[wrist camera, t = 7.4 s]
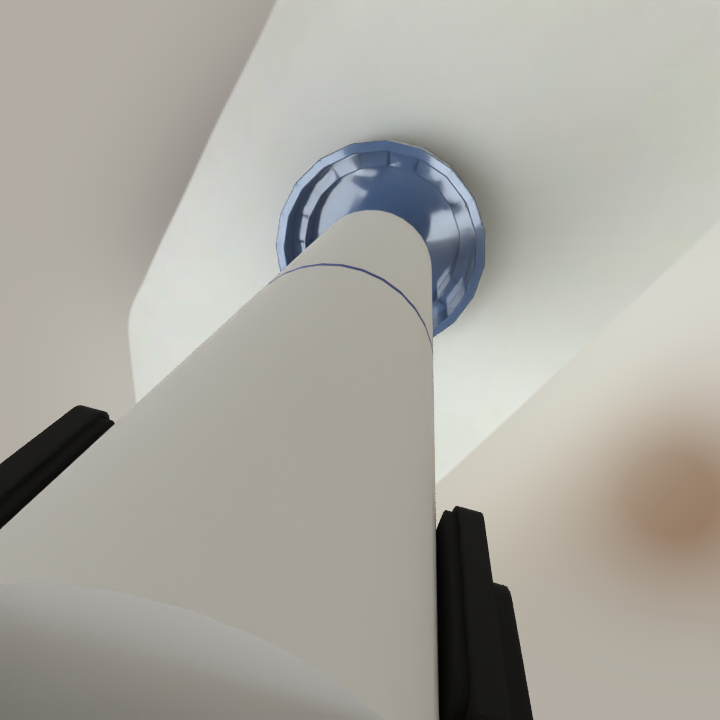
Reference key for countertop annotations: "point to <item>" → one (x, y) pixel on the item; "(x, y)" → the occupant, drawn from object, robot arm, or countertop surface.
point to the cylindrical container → (250, 517)
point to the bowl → (394, 212)
